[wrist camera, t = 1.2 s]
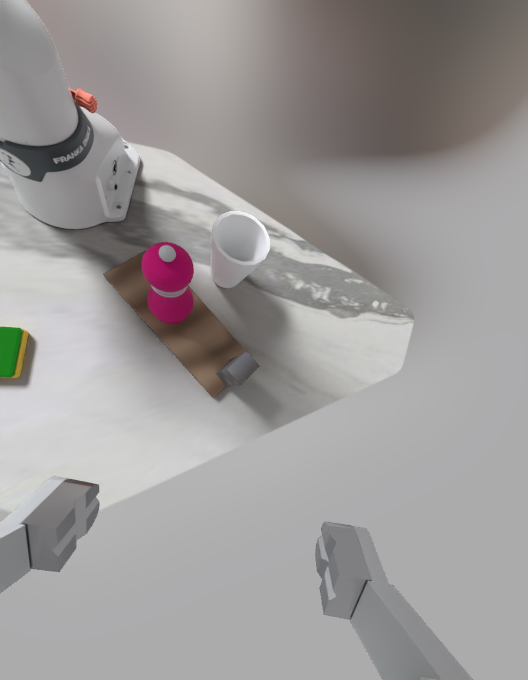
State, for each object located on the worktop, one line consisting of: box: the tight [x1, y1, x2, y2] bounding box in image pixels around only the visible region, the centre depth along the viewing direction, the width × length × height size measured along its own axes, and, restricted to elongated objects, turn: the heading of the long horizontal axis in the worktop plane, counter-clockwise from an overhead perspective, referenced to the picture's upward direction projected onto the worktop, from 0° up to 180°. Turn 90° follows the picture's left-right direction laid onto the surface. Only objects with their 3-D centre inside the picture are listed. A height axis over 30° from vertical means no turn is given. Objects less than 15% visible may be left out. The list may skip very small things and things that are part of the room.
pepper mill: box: [142, 242, 194, 324], centre depth 36 cm, size 7×7×20 cm
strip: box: [103, 250, 259, 398], centre depth 40 cm, size 28×10×12 cm, turn 44°
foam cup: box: [210, 211, 270, 288], centre depth 44 cm, size 10×9×13 cm
